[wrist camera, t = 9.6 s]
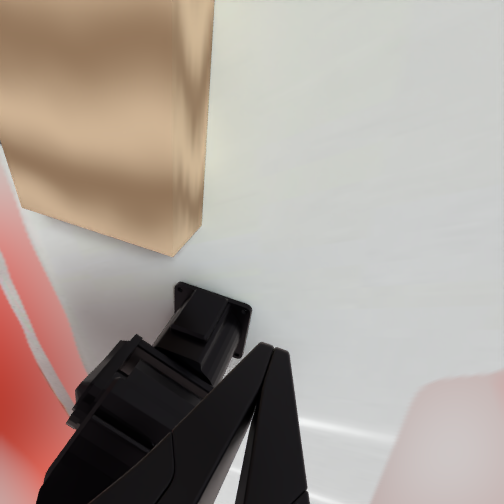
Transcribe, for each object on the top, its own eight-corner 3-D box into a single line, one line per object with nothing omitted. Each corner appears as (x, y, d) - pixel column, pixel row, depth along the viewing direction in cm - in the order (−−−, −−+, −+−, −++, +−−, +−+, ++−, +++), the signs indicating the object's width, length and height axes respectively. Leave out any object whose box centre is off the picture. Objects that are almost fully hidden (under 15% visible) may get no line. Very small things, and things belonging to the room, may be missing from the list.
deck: (201, 225, 23) (173, 257, 20) (67, 184, 25) (22, 207, 22) (230, -281, 11) (169, -405, 8) (-35, -288, 13) (-171, -390, 10)
